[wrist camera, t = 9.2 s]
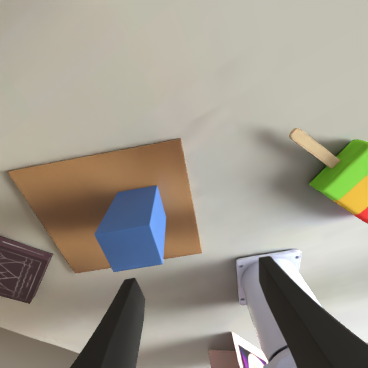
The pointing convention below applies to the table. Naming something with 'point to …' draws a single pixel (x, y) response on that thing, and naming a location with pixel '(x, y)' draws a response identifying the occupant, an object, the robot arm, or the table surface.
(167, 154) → the cork mat
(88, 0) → the table surface
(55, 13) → the table surface
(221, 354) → the greeting card
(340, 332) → the robot arm
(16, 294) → the chocolate bar
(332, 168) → the popsicle
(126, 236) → the blue block
